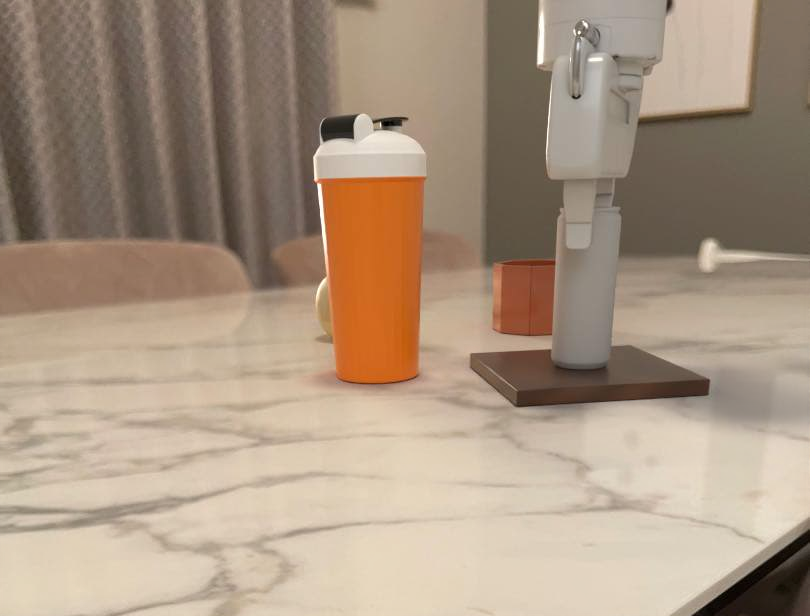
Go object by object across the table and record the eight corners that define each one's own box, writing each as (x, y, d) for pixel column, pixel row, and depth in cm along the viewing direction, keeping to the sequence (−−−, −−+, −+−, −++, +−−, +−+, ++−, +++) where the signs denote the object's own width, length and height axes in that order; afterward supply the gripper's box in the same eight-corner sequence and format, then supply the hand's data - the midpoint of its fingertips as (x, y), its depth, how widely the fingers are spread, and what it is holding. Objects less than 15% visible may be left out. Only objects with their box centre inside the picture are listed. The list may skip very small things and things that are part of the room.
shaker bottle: (448, 370, 74) (448, 115, 66) (390, 391, 67) (381, 109, 59) (366, 361, 79) (357, 122, 71) (304, 379, 72) (286, 117, 64)
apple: (406, 328, 93) (403, 269, 87) (359, 369, 90) (353, 311, 83) (352, 301, 96) (345, 243, 90) (304, 340, 93) (295, 281, 86)
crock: (557, 321, 98) (560, 258, 95) (582, 332, 91) (586, 264, 88) (487, 324, 97) (488, 260, 94) (506, 336, 89) (508, 267, 87)
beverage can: (538, 365, 69) (545, 208, 65) (575, 356, 72) (583, 206, 68) (586, 373, 66) (596, 208, 61) (622, 364, 69) (635, 206, 64)
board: (629, 358, 77) (630, 344, 77) (708, 394, 64) (710, 379, 63) (469, 366, 75) (470, 353, 75) (516, 406, 62) (517, 390, 61)
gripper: (632, 9, 50) (614, 255, 55) (655, 52, 68) (640, 235, 73) (527, 18, 52) (520, 254, 57) (576, 58, 70) (567, 235, 75)
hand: (587, 243), depth 65 cm, fingers open, 8 cm apart
